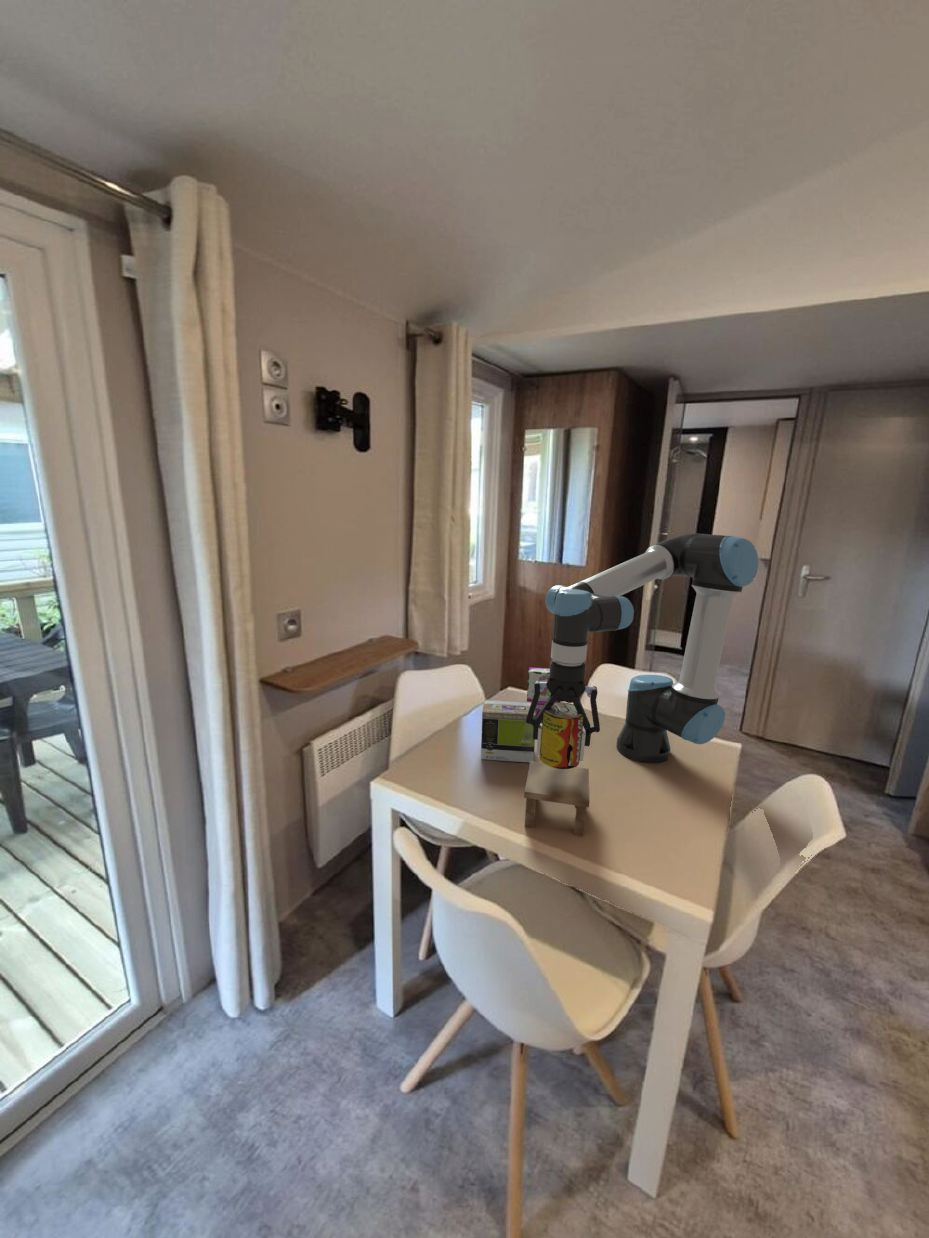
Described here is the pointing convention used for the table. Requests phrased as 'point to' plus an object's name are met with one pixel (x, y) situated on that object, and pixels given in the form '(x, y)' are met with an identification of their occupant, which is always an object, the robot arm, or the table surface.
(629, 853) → the table surface
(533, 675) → the candy bar box
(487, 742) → the tea box
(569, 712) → the beverage can
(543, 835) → the table surface
